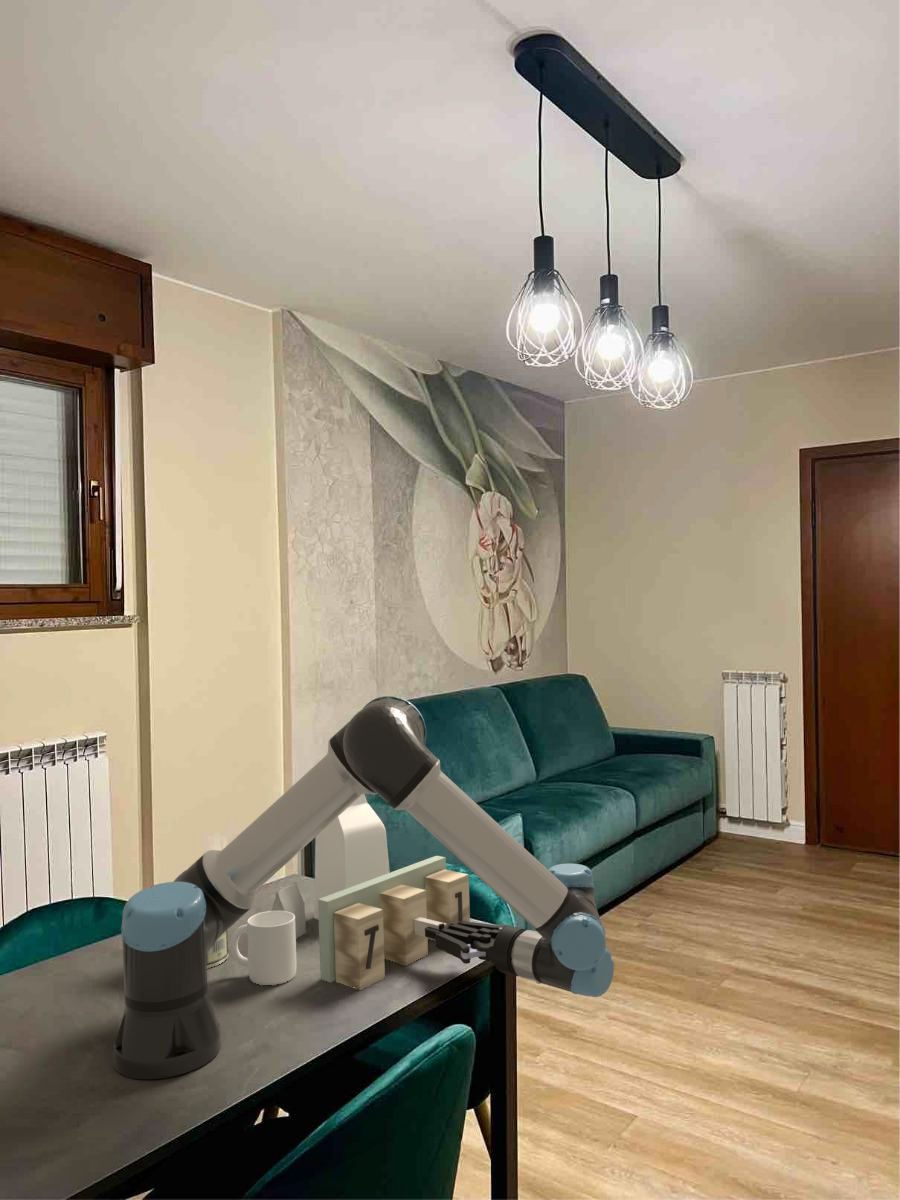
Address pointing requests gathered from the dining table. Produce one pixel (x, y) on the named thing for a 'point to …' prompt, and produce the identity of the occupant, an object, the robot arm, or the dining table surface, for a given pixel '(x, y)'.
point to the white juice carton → (291, 906)
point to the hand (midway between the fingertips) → (417, 925)
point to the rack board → (366, 903)
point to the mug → (268, 947)
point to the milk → (350, 851)
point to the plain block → (403, 924)
